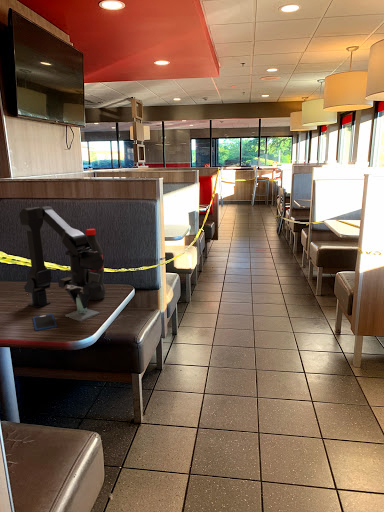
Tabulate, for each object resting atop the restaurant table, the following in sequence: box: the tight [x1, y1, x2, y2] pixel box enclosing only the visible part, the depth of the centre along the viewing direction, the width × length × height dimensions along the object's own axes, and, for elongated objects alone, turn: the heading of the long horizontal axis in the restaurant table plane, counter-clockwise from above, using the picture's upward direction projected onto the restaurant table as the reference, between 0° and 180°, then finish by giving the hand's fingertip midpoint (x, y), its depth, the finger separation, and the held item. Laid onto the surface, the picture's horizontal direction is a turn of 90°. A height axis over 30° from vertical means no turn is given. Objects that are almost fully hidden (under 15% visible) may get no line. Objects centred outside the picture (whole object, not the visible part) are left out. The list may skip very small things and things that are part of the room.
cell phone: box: [32, 313, 58, 332], centre depth 144 cm, size 7×14×1 cm, turn 25°
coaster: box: [65, 308, 100, 322], centre depth 150 cm, size 9×9×1 cm
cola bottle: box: [84, 228, 107, 301], centre depth 166 cm, size 8×8×30 cm
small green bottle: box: [76, 294, 88, 313], centre depth 149 cm, size 4×4×7 cm
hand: (81, 307), depth 150 cm, fingers closed on small green bottle, 4 cm apart
